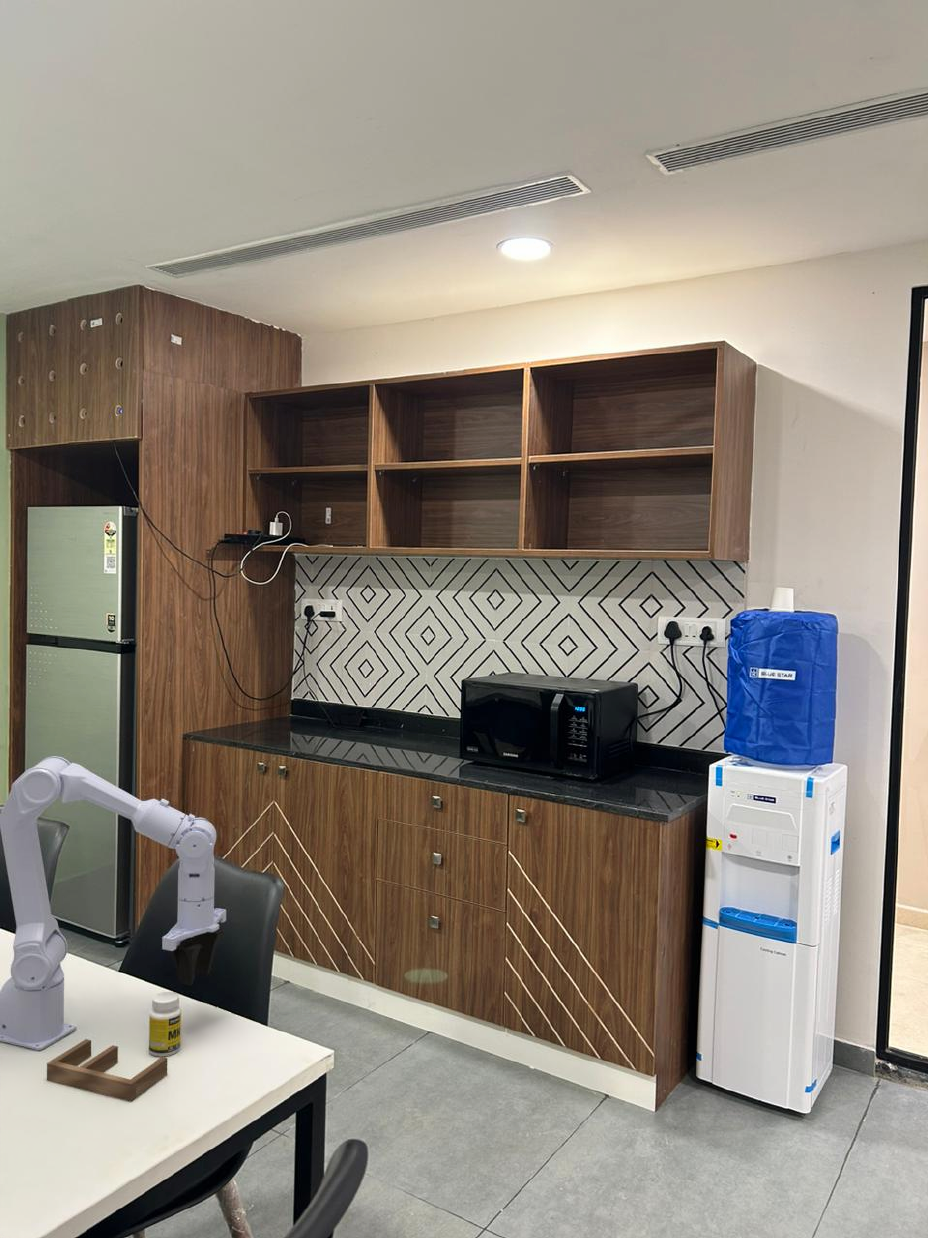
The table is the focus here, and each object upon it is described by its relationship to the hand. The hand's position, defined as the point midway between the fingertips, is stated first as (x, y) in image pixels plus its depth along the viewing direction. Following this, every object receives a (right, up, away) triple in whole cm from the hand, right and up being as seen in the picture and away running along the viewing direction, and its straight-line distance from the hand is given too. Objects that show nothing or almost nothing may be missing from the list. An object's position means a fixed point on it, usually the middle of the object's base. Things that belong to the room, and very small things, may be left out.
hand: (194, 978), depth 156 cm
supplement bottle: (-3, -9, -7) cm, 11 cm away
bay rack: (-9, -9, -15) cm, 20 cm away
